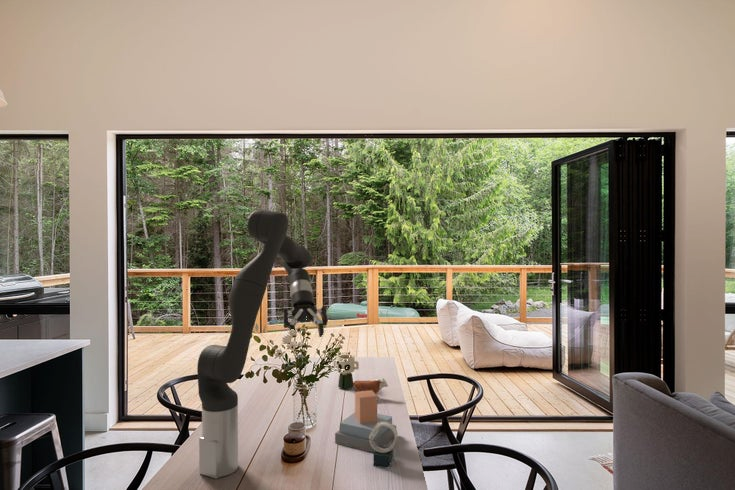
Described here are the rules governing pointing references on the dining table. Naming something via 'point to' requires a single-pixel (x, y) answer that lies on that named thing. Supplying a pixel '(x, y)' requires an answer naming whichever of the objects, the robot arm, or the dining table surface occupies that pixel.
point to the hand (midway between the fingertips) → (307, 336)
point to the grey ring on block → (382, 453)
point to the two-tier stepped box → (363, 433)
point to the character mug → (346, 371)
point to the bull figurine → (370, 385)
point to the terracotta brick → (366, 407)
